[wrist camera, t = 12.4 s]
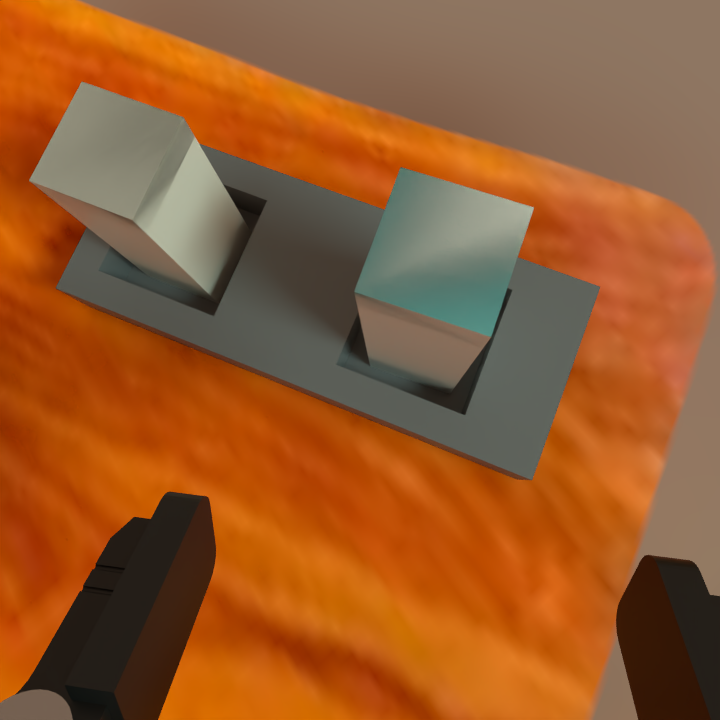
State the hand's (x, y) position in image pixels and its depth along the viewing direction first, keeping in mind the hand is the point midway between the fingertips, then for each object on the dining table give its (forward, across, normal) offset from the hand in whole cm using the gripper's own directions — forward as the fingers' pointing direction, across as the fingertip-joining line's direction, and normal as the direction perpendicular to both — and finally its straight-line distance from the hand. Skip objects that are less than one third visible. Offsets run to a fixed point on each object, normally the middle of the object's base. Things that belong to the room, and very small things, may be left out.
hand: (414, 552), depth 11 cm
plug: (+17, 0, +6) cm, 18 cm away
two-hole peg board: (+18, +5, +6) cm, 20 cm away
